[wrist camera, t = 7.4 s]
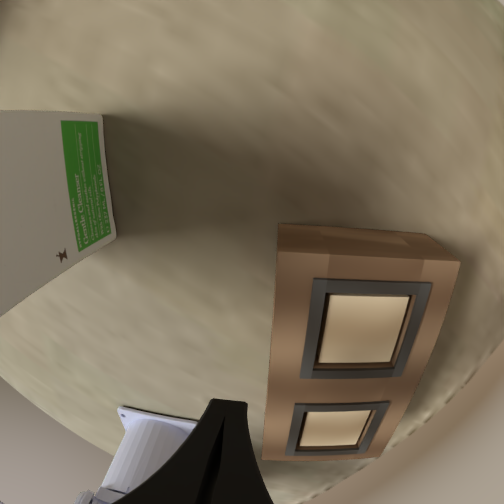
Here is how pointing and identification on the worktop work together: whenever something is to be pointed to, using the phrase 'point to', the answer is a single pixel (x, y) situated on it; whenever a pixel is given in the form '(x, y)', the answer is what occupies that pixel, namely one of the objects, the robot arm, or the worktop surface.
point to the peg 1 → (360, 327)
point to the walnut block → (309, 321)
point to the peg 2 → (331, 428)
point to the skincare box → (50, 197)
